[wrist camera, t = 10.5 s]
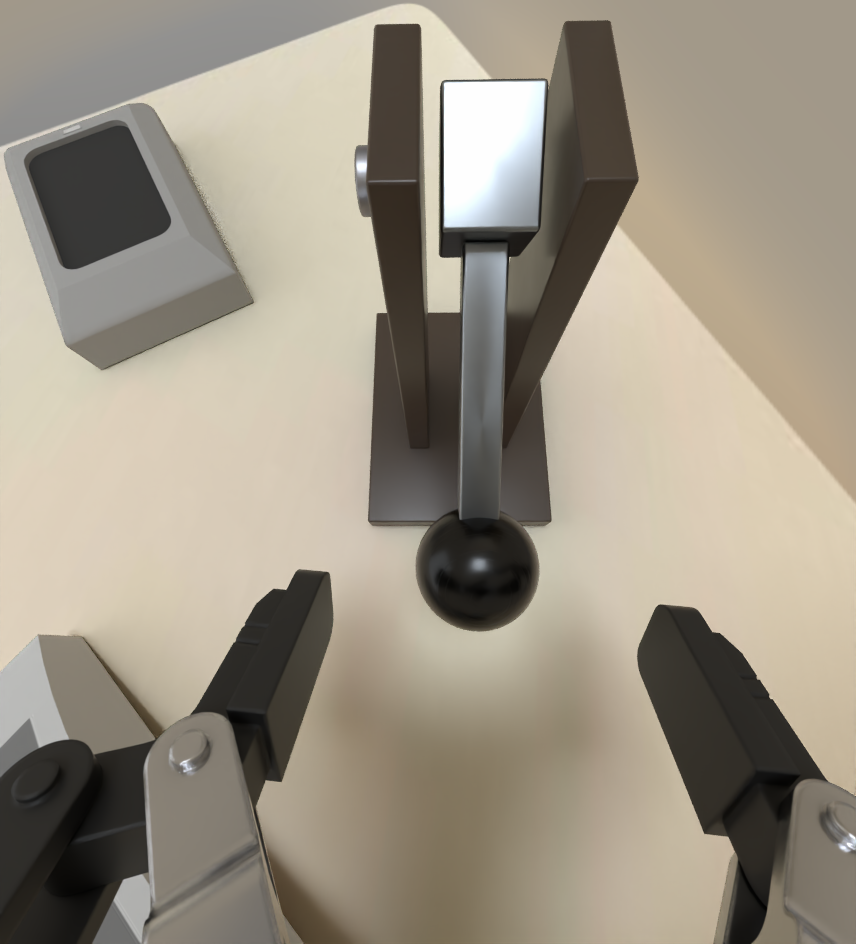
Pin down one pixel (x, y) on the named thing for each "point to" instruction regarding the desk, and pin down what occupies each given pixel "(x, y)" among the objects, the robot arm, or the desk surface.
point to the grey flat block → (121, 235)
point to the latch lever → (484, 341)
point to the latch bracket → (529, 282)
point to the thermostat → (80, 718)
